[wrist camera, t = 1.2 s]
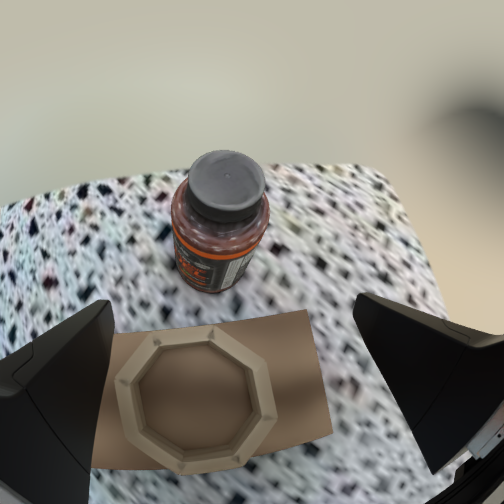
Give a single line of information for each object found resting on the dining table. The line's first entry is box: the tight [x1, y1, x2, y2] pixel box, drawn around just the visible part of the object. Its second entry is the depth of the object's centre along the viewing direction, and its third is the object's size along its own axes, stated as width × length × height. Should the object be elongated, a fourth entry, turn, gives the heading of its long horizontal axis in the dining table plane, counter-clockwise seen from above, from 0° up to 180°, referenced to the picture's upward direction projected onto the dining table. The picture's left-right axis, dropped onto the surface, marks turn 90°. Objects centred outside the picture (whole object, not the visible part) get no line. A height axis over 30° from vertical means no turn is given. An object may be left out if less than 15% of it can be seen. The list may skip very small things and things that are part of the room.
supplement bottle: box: [171, 150, 270, 293], centre depth 19 cm, size 6×6×11 cm
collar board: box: [91, 309, 333, 476], centre depth 17 cm, size 11×20×4 cm, turn 101°
